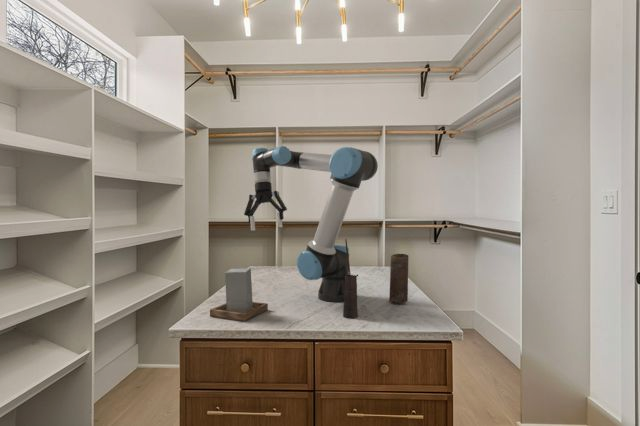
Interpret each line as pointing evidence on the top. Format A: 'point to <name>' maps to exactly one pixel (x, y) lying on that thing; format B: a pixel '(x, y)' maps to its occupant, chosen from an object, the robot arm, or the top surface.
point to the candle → (399, 278)
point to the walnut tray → (223, 313)
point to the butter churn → (350, 293)
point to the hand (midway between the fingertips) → (266, 229)
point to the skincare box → (238, 290)
